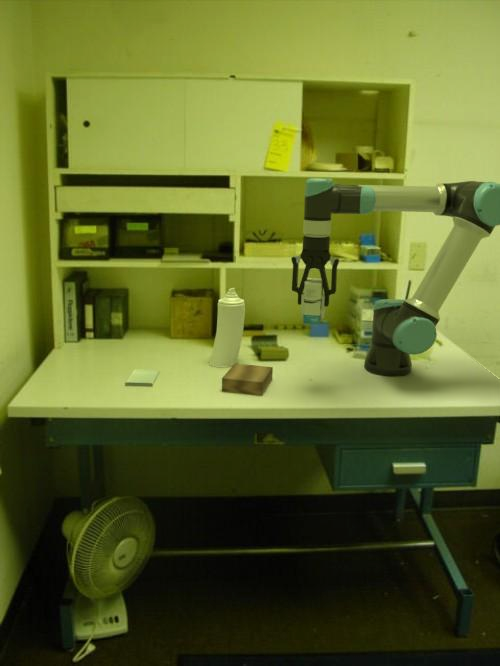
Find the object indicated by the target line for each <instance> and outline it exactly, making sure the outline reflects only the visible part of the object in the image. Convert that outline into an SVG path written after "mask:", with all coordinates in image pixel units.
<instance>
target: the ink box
mask: <svg viewBox="0 0 500 666" xmlns="http://www.w3.org/2000/svg"><path fill="white" fill-rule="evenodd" d="M303 293H304V311H303V317H302V323H303V324H307V325H308V324H309V325H320V323H321V320H322V318H321V303H322V295H323V294H324V289H323V284H322V280H321V278H315V277H308V278H307V280H306V281H305V287H304V291H303Z"/></svg>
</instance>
